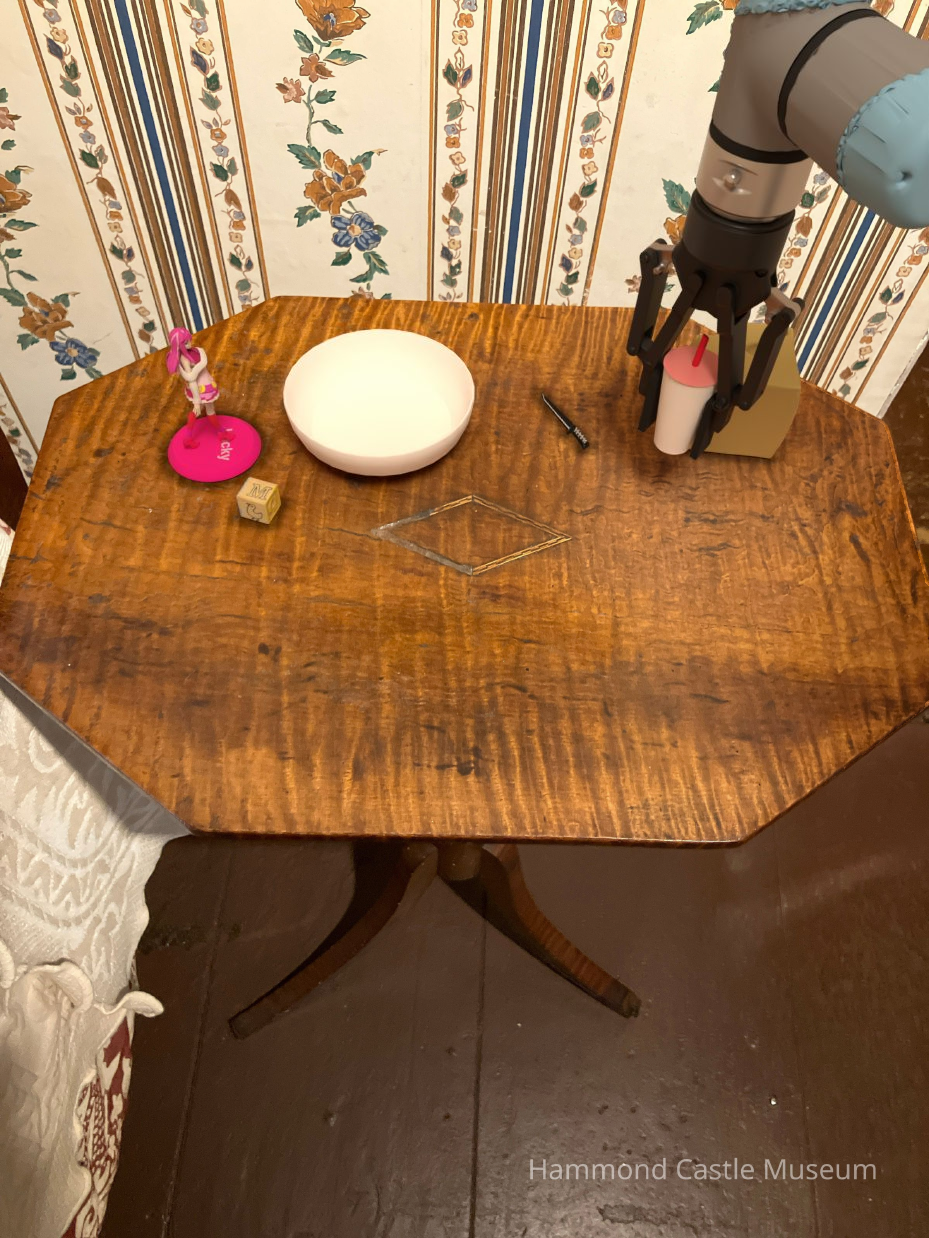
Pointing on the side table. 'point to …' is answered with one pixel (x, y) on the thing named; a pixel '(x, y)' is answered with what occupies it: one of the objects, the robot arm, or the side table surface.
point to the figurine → (206, 422)
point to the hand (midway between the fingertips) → (673, 436)
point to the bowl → (379, 401)
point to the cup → (684, 395)
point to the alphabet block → (258, 500)
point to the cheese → (760, 401)
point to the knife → (567, 422)
